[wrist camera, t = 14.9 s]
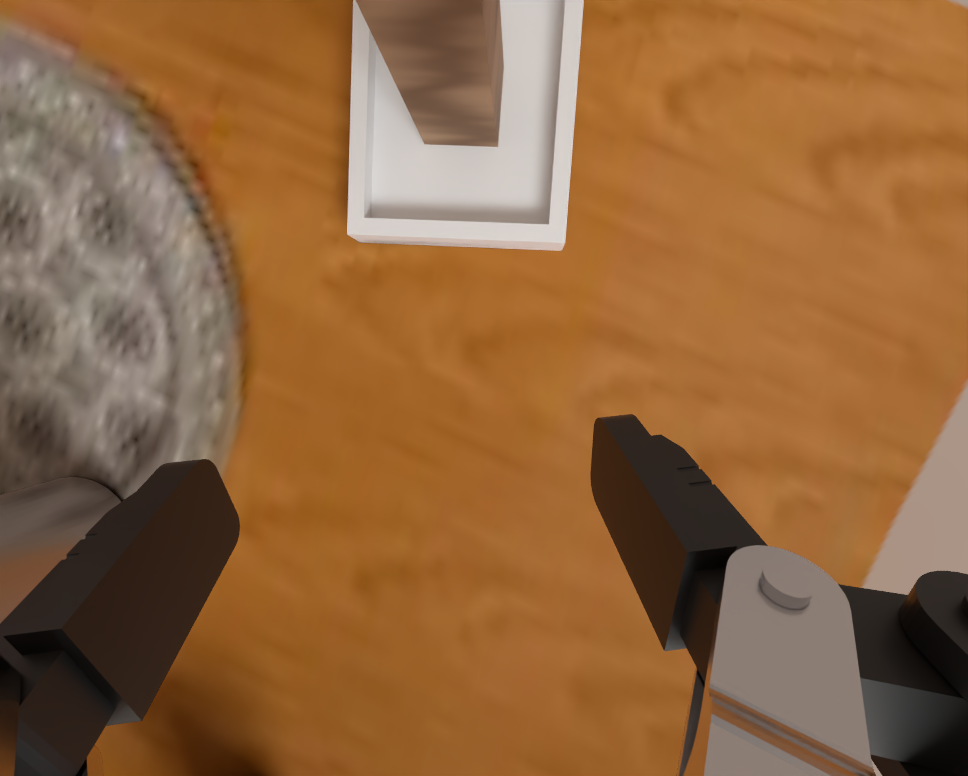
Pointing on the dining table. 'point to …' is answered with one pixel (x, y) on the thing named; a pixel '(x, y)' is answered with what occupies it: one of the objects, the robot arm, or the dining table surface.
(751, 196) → the dining table surface
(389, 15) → the brown wooden block
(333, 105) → the dining table surface
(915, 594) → the robot arm
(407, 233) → the tray
